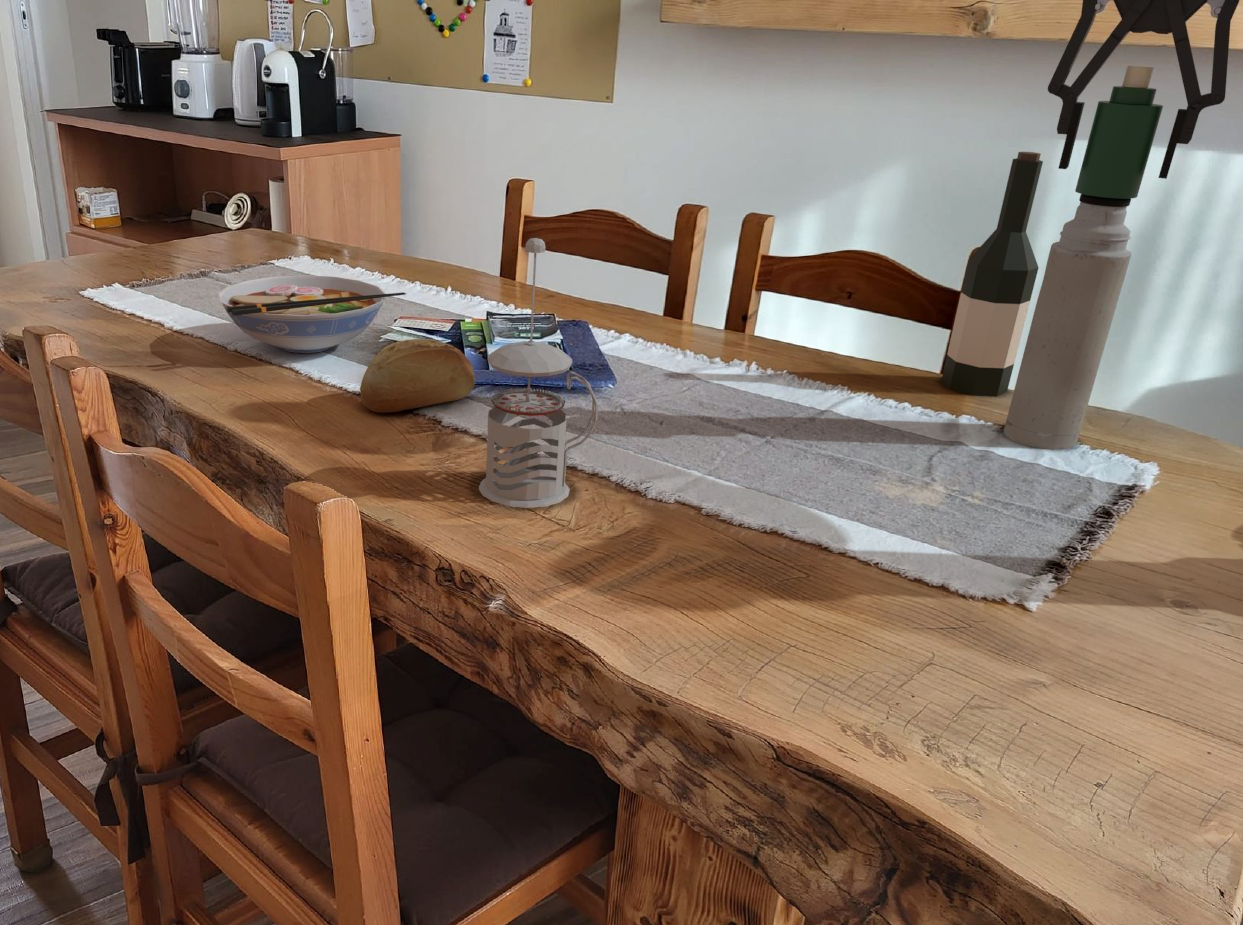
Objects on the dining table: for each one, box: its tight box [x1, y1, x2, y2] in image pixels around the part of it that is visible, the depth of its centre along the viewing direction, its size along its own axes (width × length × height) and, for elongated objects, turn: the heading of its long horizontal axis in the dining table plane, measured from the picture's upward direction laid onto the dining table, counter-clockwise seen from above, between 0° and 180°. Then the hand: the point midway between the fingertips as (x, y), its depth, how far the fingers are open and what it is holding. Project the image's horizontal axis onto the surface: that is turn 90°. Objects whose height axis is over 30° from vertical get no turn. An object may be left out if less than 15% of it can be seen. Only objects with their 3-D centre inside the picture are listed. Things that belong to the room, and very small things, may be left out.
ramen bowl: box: [217, 274, 407, 354], centre depth 149 cm, size 25×23×8 cm
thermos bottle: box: [1003, 194, 1132, 451], centre depth 122 cm, size 8×8×28 cm
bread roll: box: [359, 338, 476, 414], centre depth 129 cm, size 10×15×8 cm, turn 124°
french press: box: [478, 237, 599, 509], centre depth 103 cm, size 10×12×25 cm
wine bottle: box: [940, 151, 1044, 398], centre depth 138 cm, size 8×8×30 cm
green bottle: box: [1074, 65, 1164, 200], centre depth 112 cm, size 6×6×12 cm
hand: (1112, 172), depth 114 cm, fingers open, 9 cm apart
